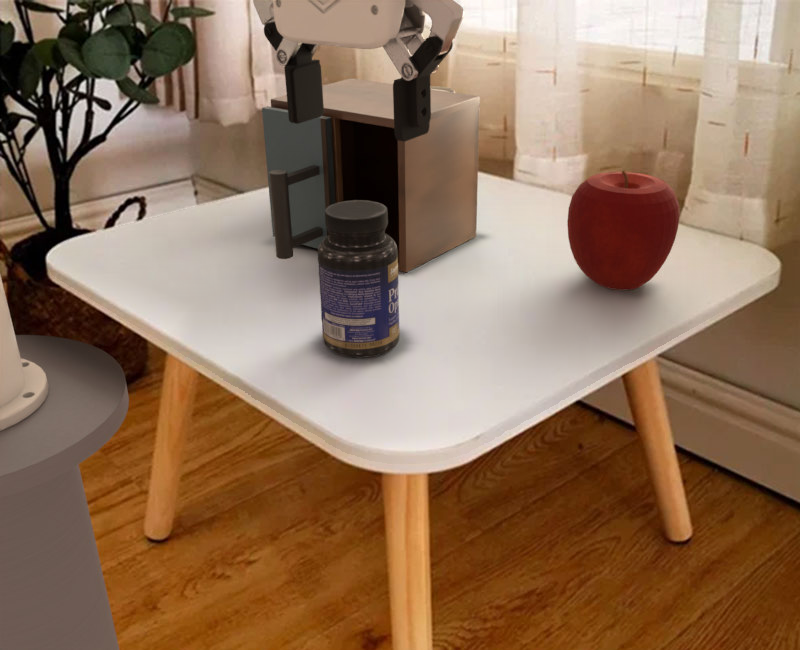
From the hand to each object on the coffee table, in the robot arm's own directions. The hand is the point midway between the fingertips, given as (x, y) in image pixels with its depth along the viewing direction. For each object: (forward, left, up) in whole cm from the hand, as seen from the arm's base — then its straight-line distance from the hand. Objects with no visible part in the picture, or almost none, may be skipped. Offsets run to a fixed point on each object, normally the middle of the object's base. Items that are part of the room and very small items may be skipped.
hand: (357, 127), depth 67 cm
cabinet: (+20, +14, -17) cm, 30 cm away
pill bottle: (0, 0, -17) cm, 17 cm away
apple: (+23, -11, -17) cm, 30 cm away
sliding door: (+10, +18, -16) cm, 27 cm away
